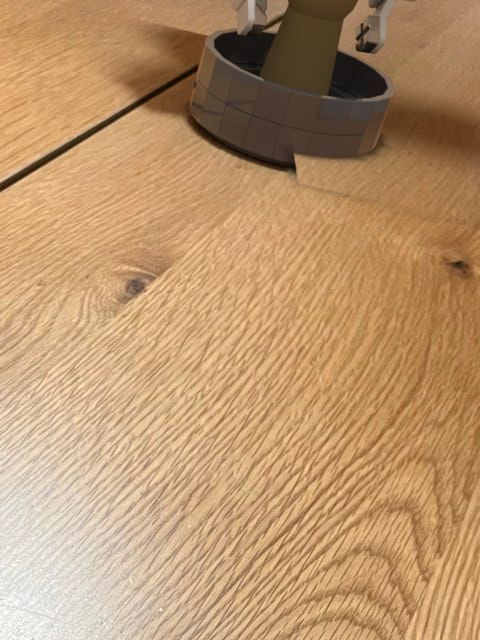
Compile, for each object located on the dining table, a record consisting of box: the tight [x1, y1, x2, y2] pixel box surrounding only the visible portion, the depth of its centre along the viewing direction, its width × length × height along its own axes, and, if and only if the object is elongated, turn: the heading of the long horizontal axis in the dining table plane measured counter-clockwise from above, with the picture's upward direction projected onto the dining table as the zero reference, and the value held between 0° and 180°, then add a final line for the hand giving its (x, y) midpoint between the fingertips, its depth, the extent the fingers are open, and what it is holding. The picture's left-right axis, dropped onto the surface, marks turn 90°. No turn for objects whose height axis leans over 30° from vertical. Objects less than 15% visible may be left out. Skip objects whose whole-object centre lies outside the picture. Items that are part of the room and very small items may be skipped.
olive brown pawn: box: [259, 0, 359, 96], centre depth 91 cm, size 6×6×11 cm
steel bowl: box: [189, 27, 397, 169], centre depth 94 cm, size 14×14×5 cm
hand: (312, 40), depth 91 cm, fingers open, 8 cm apart
